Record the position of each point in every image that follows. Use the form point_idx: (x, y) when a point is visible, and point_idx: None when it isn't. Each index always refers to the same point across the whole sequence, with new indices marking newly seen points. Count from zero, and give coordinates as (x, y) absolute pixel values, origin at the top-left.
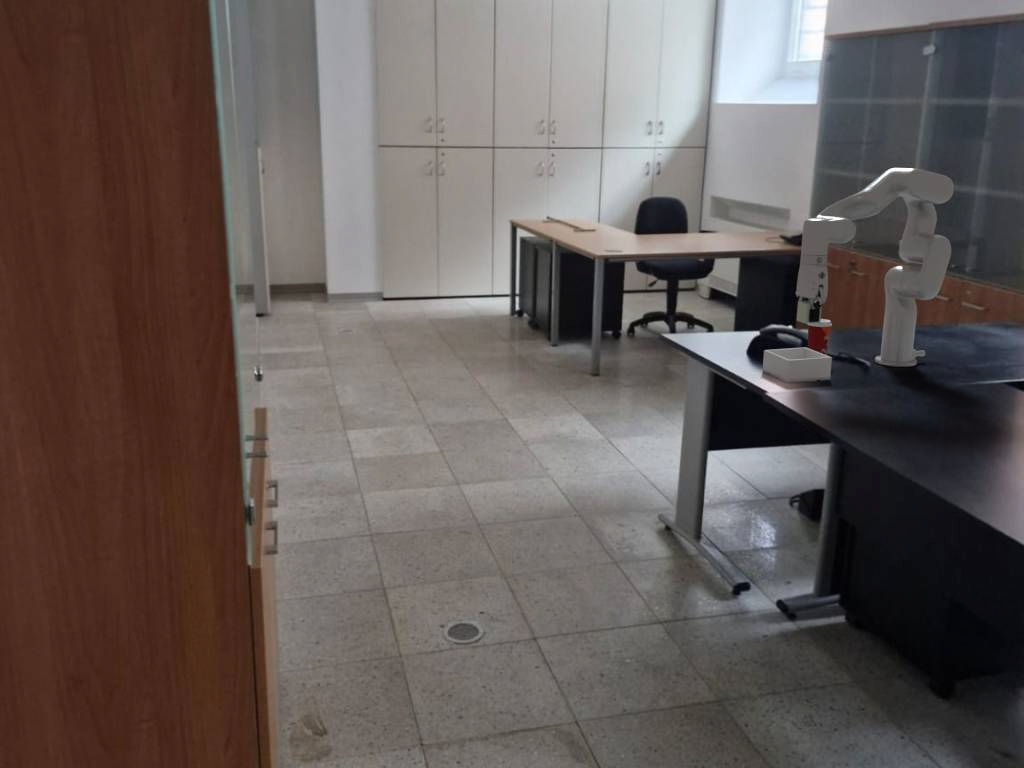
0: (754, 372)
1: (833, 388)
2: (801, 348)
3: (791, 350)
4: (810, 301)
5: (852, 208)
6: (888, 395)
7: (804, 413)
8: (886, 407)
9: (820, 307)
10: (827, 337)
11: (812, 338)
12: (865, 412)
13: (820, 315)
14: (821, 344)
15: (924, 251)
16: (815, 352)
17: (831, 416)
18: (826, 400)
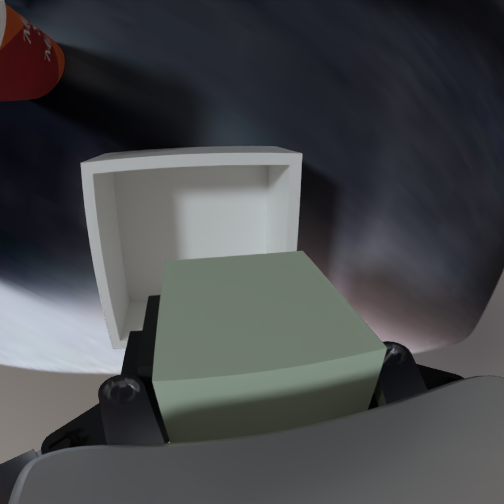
0: None
1: (361, 197)
2: (94, 190)
3: (101, 238)
4: (221, 424)
5: None
6: (447, 110)
7: (446, 340)
8: (491, 185)
9: (404, 357)
10: (25, 24)
11: (2, 92)
12: (490, 242)
13: (325, 280)
14: (36, 57)
15: None
16: (185, 166)
17: (474, 306)
18: (424, 272)
